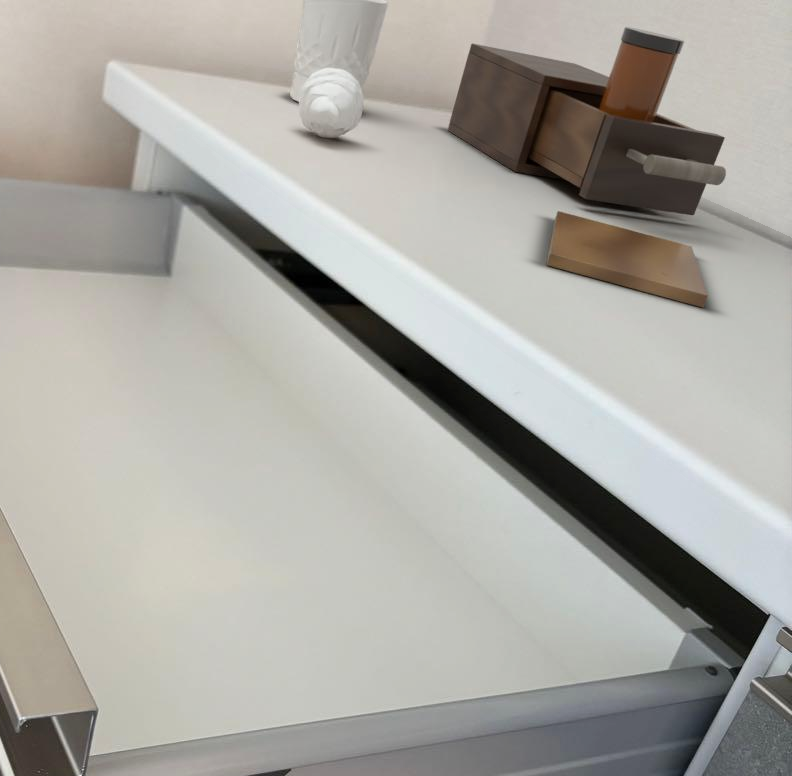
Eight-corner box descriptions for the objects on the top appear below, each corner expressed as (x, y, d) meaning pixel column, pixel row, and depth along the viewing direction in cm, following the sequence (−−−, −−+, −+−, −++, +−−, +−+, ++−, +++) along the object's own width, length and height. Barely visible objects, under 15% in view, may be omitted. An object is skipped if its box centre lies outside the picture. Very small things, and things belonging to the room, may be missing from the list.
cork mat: (687, 256, 81) (691, 246, 80) (702, 307, 69) (708, 295, 68) (554, 221, 82) (557, 210, 82) (546, 265, 70) (550, 253, 70)
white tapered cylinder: (269, 95, 106) (291, -19, 101) (308, 92, 112) (330, -15, 107) (340, 117, 103) (366, 1, 98) (375, 113, 109) (401, 4, 104)
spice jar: (632, 175, 95) (682, 39, 90) (634, 184, 91) (686, 42, 85) (578, 161, 96) (624, 25, 90) (577, 169, 92) (625, 28, 86)
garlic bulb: (288, 139, 89) (302, 68, 86) (293, 126, 94) (307, 59, 91) (353, 153, 89) (370, 83, 86) (355, 140, 94) (370, 73, 91)
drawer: (724, 232, 87) (758, 151, 84) (612, 215, 84) (643, 130, 80) (606, 169, 102) (631, 98, 99) (508, 153, 99) (530, 79, 96)
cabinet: (626, 189, 100) (660, 96, 96) (514, 172, 96) (544, 74, 92) (548, 147, 113) (575, 63, 108) (447, 130, 109) (471, 43, 105)
